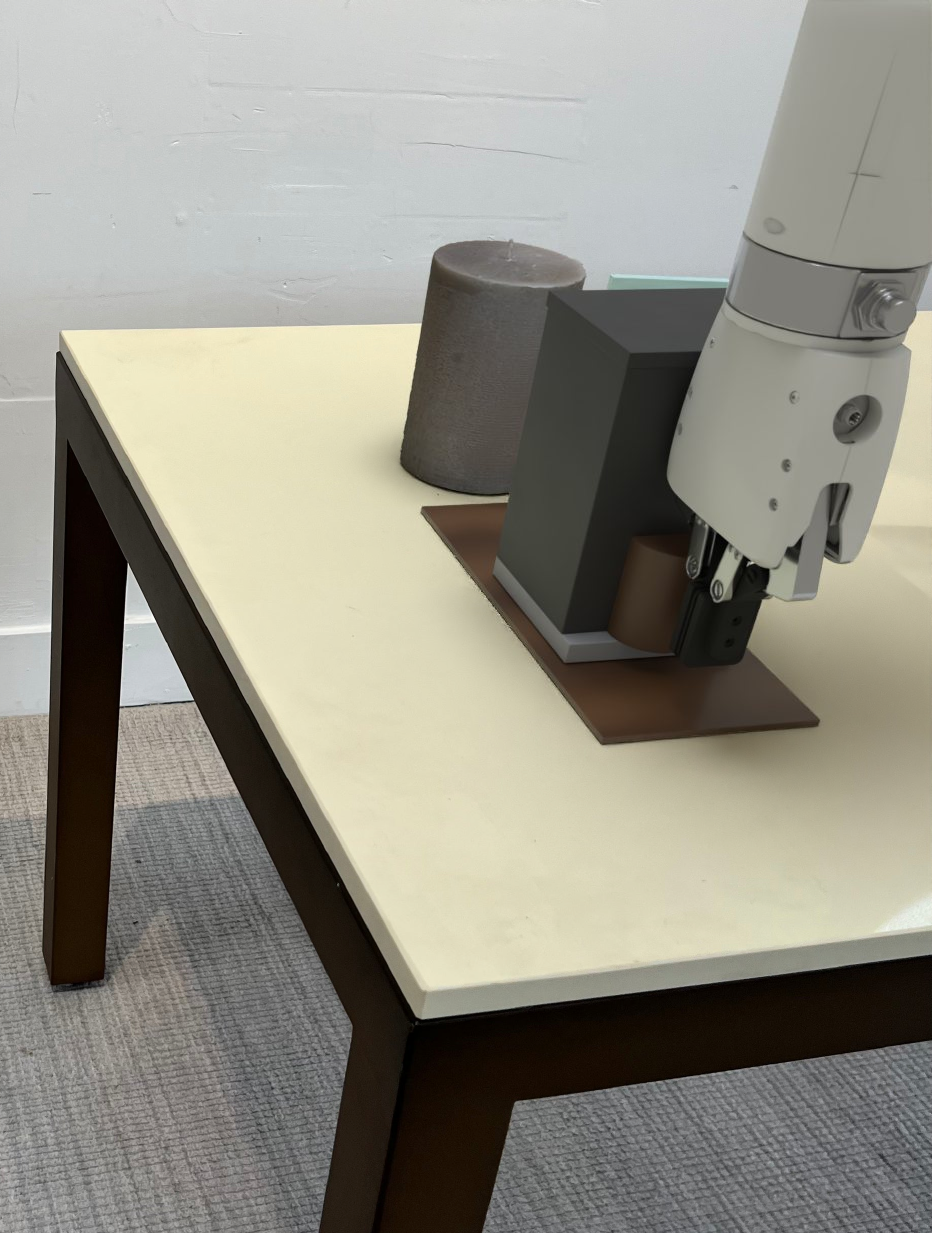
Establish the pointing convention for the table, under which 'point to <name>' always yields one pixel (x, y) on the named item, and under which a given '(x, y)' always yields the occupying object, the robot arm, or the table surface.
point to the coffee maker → (604, 472)
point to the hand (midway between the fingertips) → (704, 657)
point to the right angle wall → (662, 282)
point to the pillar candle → (479, 360)
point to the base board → (626, 662)
